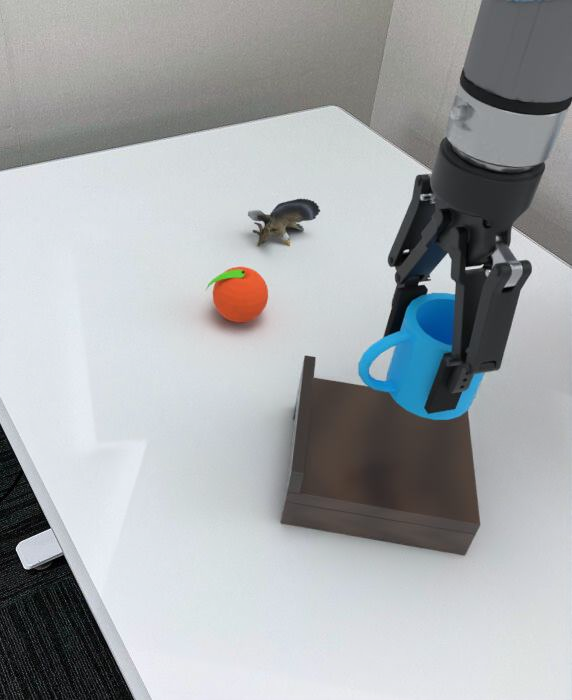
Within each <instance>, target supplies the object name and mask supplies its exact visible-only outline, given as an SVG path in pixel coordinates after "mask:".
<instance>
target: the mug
mask: <svg viewBox="0 0 572 700" xmlns="http://www.w3.org/2000/svg"><path fill="white" fill-rule="evenodd" d="M454 303H455V293H448V292H431V293H427V294H426V295H421V296H419V297H418V298H416V299H414V300H413V301H412V302H411V303H410V305H409V306H408V307H407V310H406V313H405V316H404V320H403V323H402V326H401V329H400V331H398V332H396V333H393V334H391V335H388V336H386V337H384V338H383V337H382V338H381V339H379V340H378V341H375V343H372V344H371V345H370V346H369V347H368V348H367V349H366V350H365V351H364V352H363V354H362V356H361V357H360V360H359V361H358V368H357V370H358V371H357V374H358V376H359V378H360V380H361V381H362V383H363V384H364V386H369V387H371V388H372V389H374V390H378V391H383V392H389V393H390V395H391V396H392V397H393V399H394V400H395V401H396V402H397V403H398V404H399V405H400V406H402V407H403V408H404V409H406V410H407V411H409V412H411V413H413V414H416V415H418V416H420V417H424V418H429V419H433V420H449V419H452V418H456V417H459V416H461V415H462V414H464V413H465V412H466V411H468V412H469V409H470V408H471V406H472V404H473V402H474V399H475V398H476V394H477V392H478V390H479V387H480V385H481V382H482V381H483V378H484V375H485V373H479V374H474V376H473V379H472V381H471V383H470V386H469V388H468V389H467V390H466V391H463V392H462V394H461V397H460V399H459V402H458V404H457V407H456V409H454V410H448V411H442V412H436V413H431V414H428V413H427V412H426V410H425V409H424V406H425V404H426V401H427V398H428V395H429V393H430V390H431V387H432V385H433V382H434V379H435V376H436V374H437V371H438V368H439V365H440V363H441V360H442V357H443V354H444V353H450V352H452V337H453V320H454ZM393 347H394V348H393ZM391 348H393V349H394V350H393V353H392V356H391V359H390V363H389V366H388V370H387V372H386V379H385V380H381V379H376V378H375V377H373V376H372V375H371V374H370V368H371V366H372V364H373V362H374V361H375V360H376V359H377V358H378V357H379V356H380V355H382V354H383V353H384V352H386V351H388V350H389V349H391ZM467 349H468V348H467Z"/></svg>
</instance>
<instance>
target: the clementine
mask: <svg viewBox="0 0 572 700" xmlns="http://www.w3.org/2000/svg"><path fill="white" fill-rule="evenodd" d="M213 284H214V285H213ZM211 285H213V290H212V302H213V304H214V306H215V309H216V311H217V312H218V313H219V314H220V315H221V316H222V317H223V318H224V319H226V320H227V321H230V322H233V323H248V322H250V321H253V320H255V319H256V318H258V317H259V316H260V315H261V314H262V312H263V311H264V310H265V309H266V306H267V303H268V299H269V289H268V285H267V283H266V280H265V279H264V277H263V276H262V275H261V274H260V273H258V272H257V270H255V269H252V268H250V267H247V266H236V267H230V268H228V269H226V270H225V271H224V272H222V273H220V274H219V275H217V276H216V277H214V278H213V279H212V280H211V281H210V282H209V283H208V285H207V287H206V288H205V290H204V291H205V292H206V291H207V290H208V289H209V287H210V286H211Z"/></svg>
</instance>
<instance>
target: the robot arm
mask: <svg viewBox="0 0 572 700" xmlns="http://www.w3.org/2000/svg"><path fill="white" fill-rule="evenodd" d="M456 88H457V89H456V92H455V95H454V98H453V102H452V105H451V108H450V112H449V114H448V115H449V116H448V118H447V122H446V126H445V128H444V133H445V134H444V135H445V137H443V138H442V140H441V141H440V143H439V147H438V149H437V154H436V156H435V160H434V164H433V167H432V170H431V173H424V174H417V175H416V176H415V179H414V184H413V190H412V196H411V200H410V202H409V204H408V207H407V209H406V212H405V215H404V216H403V219H402V221H401V224H400V227H399V229H398V231H397V234H396V236H395V238H394V241H393V244H392V246H391V248H390V251H389V252H388V255H387V264H388V266H389V267H390V268H394V269H395V273H394V281H395V284H396V285H395V289H394V293H393V295H392V300H391V309H390V312H389V316H388V320H387V323H386V326H385V330H384V333H383V337H382V338H384V337H386V336H388V335H391V334H393V333H396V332H398V331H400V329H401V326H402V323H403V320H404V316H405V313H406V310H407V307H408V306H409V305H410V303H411V302H412V301H413V300H414V299H416V298H418V297H419V296H421V295H426V294H428V291H429V289H428V287H427V286H426V285H425V284H420V283H423V282H424V283H425V282H430V281H432V279H431V274H432V272H433V271H434V270H435V269H436V267H438V265H439V264H440V263H441V262H442V261H443V260H444V259H445V257H446V256H447V255H448V256H449V258H450V260H451V261H450V278H451V280H452V281H454V283H455V286H454V287H455V289H454V295H455V303H454V320H453V337H452V352H450V353H444V354H443V357H442V360H441V363H440V365H439V368H438V371H437V374H436V376H435V379H434V382H433V385H432V387H431V390H430V393H429V395H428V398H427V401H426V404H425V406H424V409H425V410H426V412H427V413H428V414H431V413H436V412H442V411H448V410H454V409H456V407H457V404H458V402H459V399H460V397H461V394H462V392H463V391H466V390H467V389H468V388H469V386H470V383H471V381H472V379H473V376H474V374H479V373H484V374H485V373H491V372H497V371H499V370H500V369H501V367H502V363H503V359H504V354H505V351H506V347H507V343H508V340H509V337H510V332H511V328H512V324H513V320H514V317H515V313H516V309H517V306H518V302H519V298H520V295H521V291H522V289H523V287H524V286H525V284H526V283H527V281H528V280H529V278H530V276H531V275H532V272H533V266H532V263H531V261H530V260H529V259H521V260H518V259H517V257H516V256H515V255H514V253H513V252H512V250H511V249H510V245H511V241H512V230H513V229H512V228H513V225H514V223H515V222H516V221H517V220H518V218H520V217H521V216H522V215H523V214H524V213H525V212H527V210H528V209H529V208H530V207H531V205H532V203H533V200H534V198H535V195H536V193H537V190H538V187H539V185H540V182H541V181H542V178H543V176H544V173H545V170H546V163H545V162H546V161H547V160H549V159H550V157H551V156H552V154H553V152H554V149H555V146H556V144H557V142H558V139H559V136H560V133H561V131H562V128H563V126H564V123H565V119H566V117H567V114H568V112H569V109H570V107H571V106H572V105H571V104H572V0H481V2H480V5H479V9H478V12H477V17H476V20H475V22H474V27H473V31H472V34H471V38H470V42H469V45H468V49H467V51H466V56H465V60H464V62H463V67H462V69H461V73H460V77H459V82H458V85H457V87H456ZM478 266H479V267H478ZM480 266H482V267H480ZM472 267H478V268H472ZM466 268H470V269H466ZM467 348H468V349H467Z"/></svg>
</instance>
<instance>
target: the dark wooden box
mask: <svg viewBox="0 0 572 700" xmlns="http://www.w3.org/2000/svg"><path fill="white" fill-rule="evenodd" d="M316 360H317V357H316V356H313V355H304V358H303V361H302V367H301V372H300V377H299V382H298V387H297V392H296V397H295V403H294V407H293V417H292V420H294V422H293V432H292V438H291V439H292V440H291V447H290V455H289V456H290V457H289V464H288V473H287V474H288V475H287V480H286V481H287V483H286V489H285V492H284V498H283V501H282V502H283V503H282V507H281V516H280V524H284V525H288V526H289V525H290V526H295V527H299V528H300V527H302V528H305V529H312V530H317V531H324V532H328V533H329V532H330V533H335V534H341V535H345V536H353V537H358V538H364V539H371V540H376V541H381V542H388V543H393V544H398V545H403V546H404V545H405V546H410V547H416V548H420V549H421V548H423V549H427V550H432V551H433V550H434V551H438V552H444V553H450V554H455V555H462V556H466V554H467V553H468V550H469V548H470V546H471V545H472V543H473V541H474V539H475V537H476V535H477V533H478V531H479V529H480V527H481V519H480V509H479V501H478V492H477V490H478V489H477V480H476V474H475V473H476V472H475V462H474V455H473V444H472V435H471V425H470V417H469V416H470V415H469V410H468V411H466V412H465V413H464V414H462V415H461V416H459V417H456V418H452V419H449V420H433V419H429V418H424V417H420V416H418V415H416V414H413V413H411V412H409V411H407V410H406V409H404V408H403V407H402V406H400V405H399V404H398V403H397V402H396V401H395V400H394V399H393V397H392V396H391V395H390V393H389V392H383V391H378V390H374V389H372V388H371V387H369V386H367V385H365V384H364V385H362V384H358V383H351V382H345V381H337V380H332V379H326V378H320V377H315V370H316V362H317V361H316Z"/></svg>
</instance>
